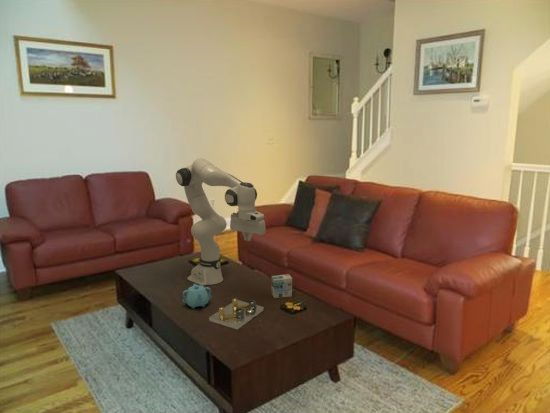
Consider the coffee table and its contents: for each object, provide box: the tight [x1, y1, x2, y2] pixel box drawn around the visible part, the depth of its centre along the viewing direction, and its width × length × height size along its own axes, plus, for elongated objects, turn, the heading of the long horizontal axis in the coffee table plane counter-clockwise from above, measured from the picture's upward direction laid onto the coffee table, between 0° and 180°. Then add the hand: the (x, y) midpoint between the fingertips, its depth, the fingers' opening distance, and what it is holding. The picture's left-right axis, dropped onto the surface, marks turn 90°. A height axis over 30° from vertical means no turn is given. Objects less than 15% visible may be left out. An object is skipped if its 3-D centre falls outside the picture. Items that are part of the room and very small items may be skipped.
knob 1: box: [218, 306, 244, 320], centre depth 204 cm, size 12×4×6 cm, turn 108°
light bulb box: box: [270, 273, 293, 299], centre depth 234 cm, size 11×7×11 cm, turn 105°
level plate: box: [208, 299, 265, 331], centre depth 210 cm, size 18×23×4 cm
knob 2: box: [231, 297, 257, 311], centre depth 213 cm, size 12×4×6 cm, turn 106°
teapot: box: [182, 283, 212, 310], centre depth 222 cm, size 13×14×11 cm
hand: (247, 240), depth 218 cm, fingers closed
